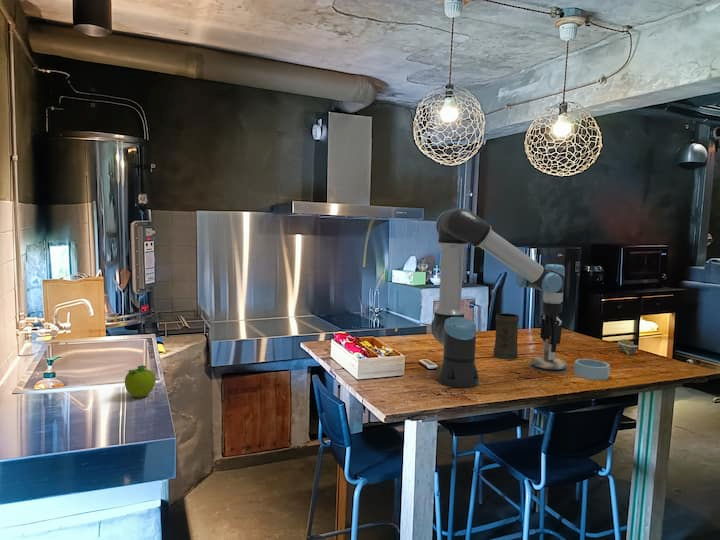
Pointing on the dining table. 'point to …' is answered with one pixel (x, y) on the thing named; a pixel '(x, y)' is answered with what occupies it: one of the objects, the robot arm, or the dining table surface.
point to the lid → (546, 363)
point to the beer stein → (506, 336)
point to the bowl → (591, 369)
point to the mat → (559, 371)
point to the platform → (627, 346)
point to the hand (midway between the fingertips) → (548, 358)
